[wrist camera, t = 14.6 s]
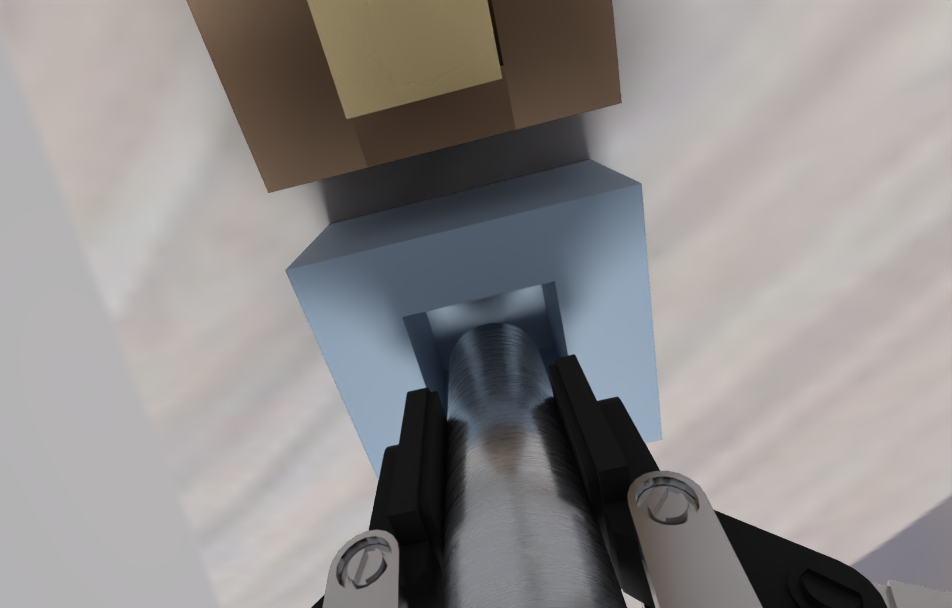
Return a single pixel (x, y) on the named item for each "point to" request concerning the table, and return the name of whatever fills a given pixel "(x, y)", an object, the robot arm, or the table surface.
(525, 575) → the steel peg
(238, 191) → the table surface
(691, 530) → the robot arm
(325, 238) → the blue square hole block
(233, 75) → the socket block
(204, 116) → the table surface
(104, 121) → the table surface
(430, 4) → the key
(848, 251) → the table surface
